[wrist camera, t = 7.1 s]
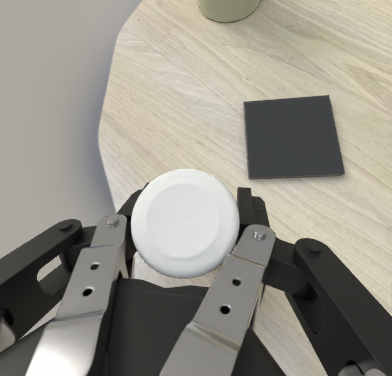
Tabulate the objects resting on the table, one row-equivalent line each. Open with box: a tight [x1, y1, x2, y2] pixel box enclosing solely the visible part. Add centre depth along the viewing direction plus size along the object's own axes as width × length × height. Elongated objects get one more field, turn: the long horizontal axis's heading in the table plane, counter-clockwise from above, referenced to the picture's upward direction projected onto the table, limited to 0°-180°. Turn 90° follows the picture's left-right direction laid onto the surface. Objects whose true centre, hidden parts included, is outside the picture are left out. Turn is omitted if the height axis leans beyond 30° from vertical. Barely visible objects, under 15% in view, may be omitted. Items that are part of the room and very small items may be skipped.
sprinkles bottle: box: [131, 169, 239, 279], centre depth 15 cm, size 5×5×13 cm
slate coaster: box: [243, 95, 345, 179], centre depth 26 cm, size 10×10×1 cm
